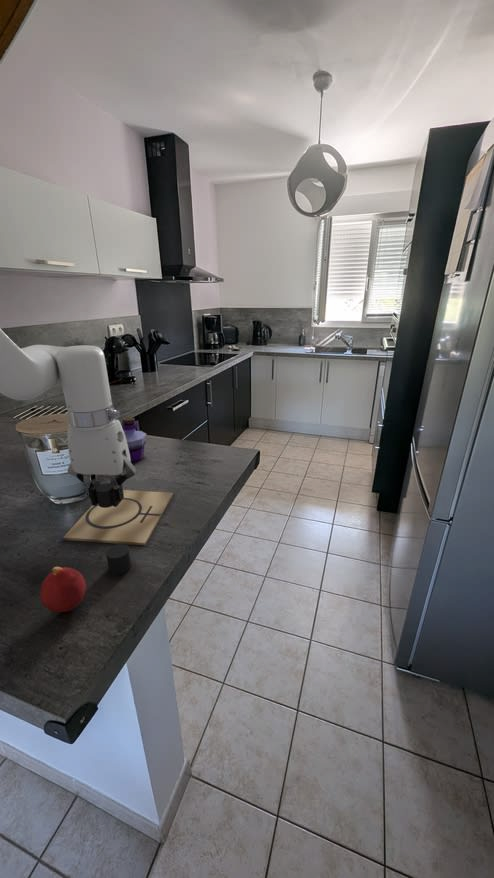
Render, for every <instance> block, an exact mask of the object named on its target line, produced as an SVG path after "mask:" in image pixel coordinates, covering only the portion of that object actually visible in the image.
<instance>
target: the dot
mask: <svg viewBox="0 0 494 878" xmlns="http://www.w3.org/2000/svg"><path fill="white" fill-rule="evenodd" d="M100 484H101V485H99V486H97V487H96V489H95V490H96V495H97V500H98V505H99V506H100V507H102V508H108V507H112V506H113V504H112V499H111V493H110V489H111V488H112V485H111V482H105V483H104V482H103V483H100Z"/></svg>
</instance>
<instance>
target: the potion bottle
mask: <svg viewBox="0 0 494 878" xmlns="http://www.w3.org/2000/svg"><path fill="white" fill-rule="evenodd" d="M120 423H121V426H122V428H123V431H124V434H125V437H126V441H127V444H128V449H129V453H130V459H131V463H132V464H135V463H138V462H140V461H142V460H144V457H145V456H144V453H145V445H146V442H147V435H148V434H147V433H146V432H144V431H143V430H136V429H137V428H139V426H138V422H137V421H136V420H135V417H129V416H128V417H123V418H122V419H121V422H120Z"/></svg>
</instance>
